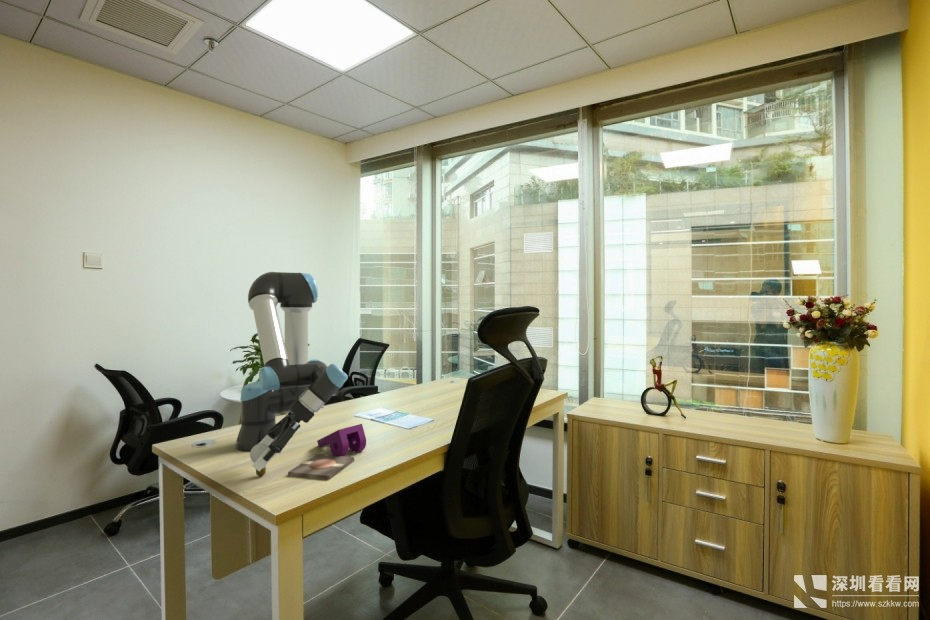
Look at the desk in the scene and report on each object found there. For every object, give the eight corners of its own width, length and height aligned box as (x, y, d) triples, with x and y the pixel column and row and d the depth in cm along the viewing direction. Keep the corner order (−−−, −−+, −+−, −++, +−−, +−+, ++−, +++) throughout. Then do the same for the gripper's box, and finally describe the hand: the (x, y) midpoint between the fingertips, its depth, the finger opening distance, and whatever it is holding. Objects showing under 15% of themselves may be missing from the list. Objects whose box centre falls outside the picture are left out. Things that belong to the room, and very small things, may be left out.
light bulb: (247, 476, 134) (247, 443, 134) (267, 470, 139) (266, 439, 138) (254, 481, 130) (253, 448, 130) (274, 476, 134) (274, 443, 134)
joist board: (288, 475, 135) (288, 471, 135) (316, 457, 150) (316, 453, 150) (329, 479, 132) (329, 475, 131) (354, 460, 147) (354, 456, 147)
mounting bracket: (318, 466, 158) (345, 455, 147) (312, 443, 161) (338, 429, 150) (341, 459, 166) (368, 447, 155) (335, 436, 168) (361, 423, 157)
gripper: (321, 422, 130) (266, 482, 123) (310, 405, 152) (263, 455, 146) (302, 407, 127) (245, 467, 121) (293, 391, 150) (245, 441, 143)
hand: (255, 460), depth 133 cm, fingers open, 13 cm apart
